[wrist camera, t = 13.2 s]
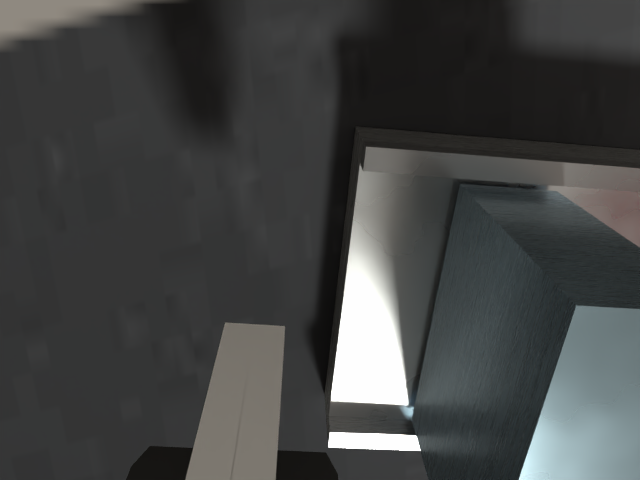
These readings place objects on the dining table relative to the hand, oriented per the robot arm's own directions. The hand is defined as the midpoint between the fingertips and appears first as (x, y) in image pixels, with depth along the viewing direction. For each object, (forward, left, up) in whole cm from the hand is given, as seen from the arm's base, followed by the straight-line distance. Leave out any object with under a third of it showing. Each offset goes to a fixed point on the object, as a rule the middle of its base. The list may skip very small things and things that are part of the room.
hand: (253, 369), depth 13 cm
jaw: (+7, 0, -4) cm, 8 cm away
